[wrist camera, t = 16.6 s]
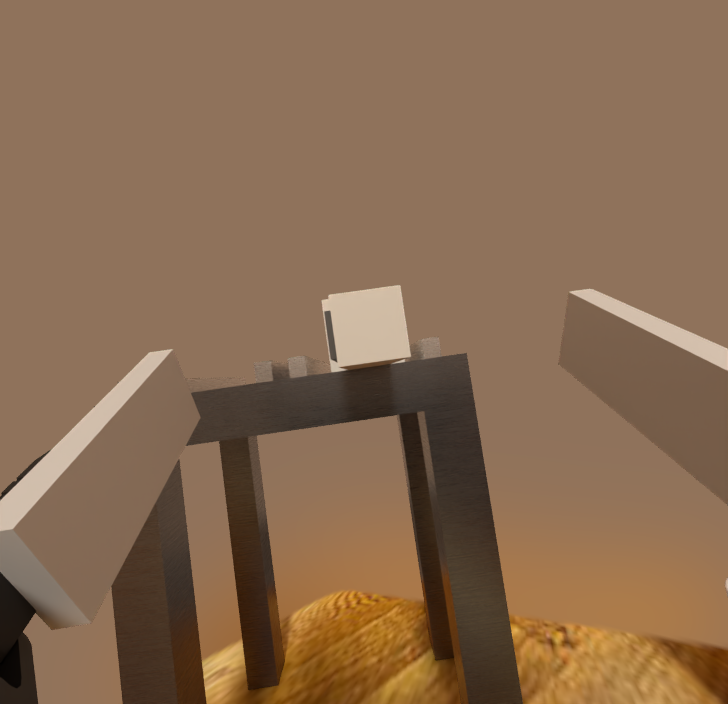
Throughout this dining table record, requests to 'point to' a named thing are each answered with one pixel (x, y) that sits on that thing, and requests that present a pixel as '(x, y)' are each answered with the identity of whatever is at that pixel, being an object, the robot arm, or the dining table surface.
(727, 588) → the white cup
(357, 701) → the dining table surface
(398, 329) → the bar
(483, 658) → the rail stand
